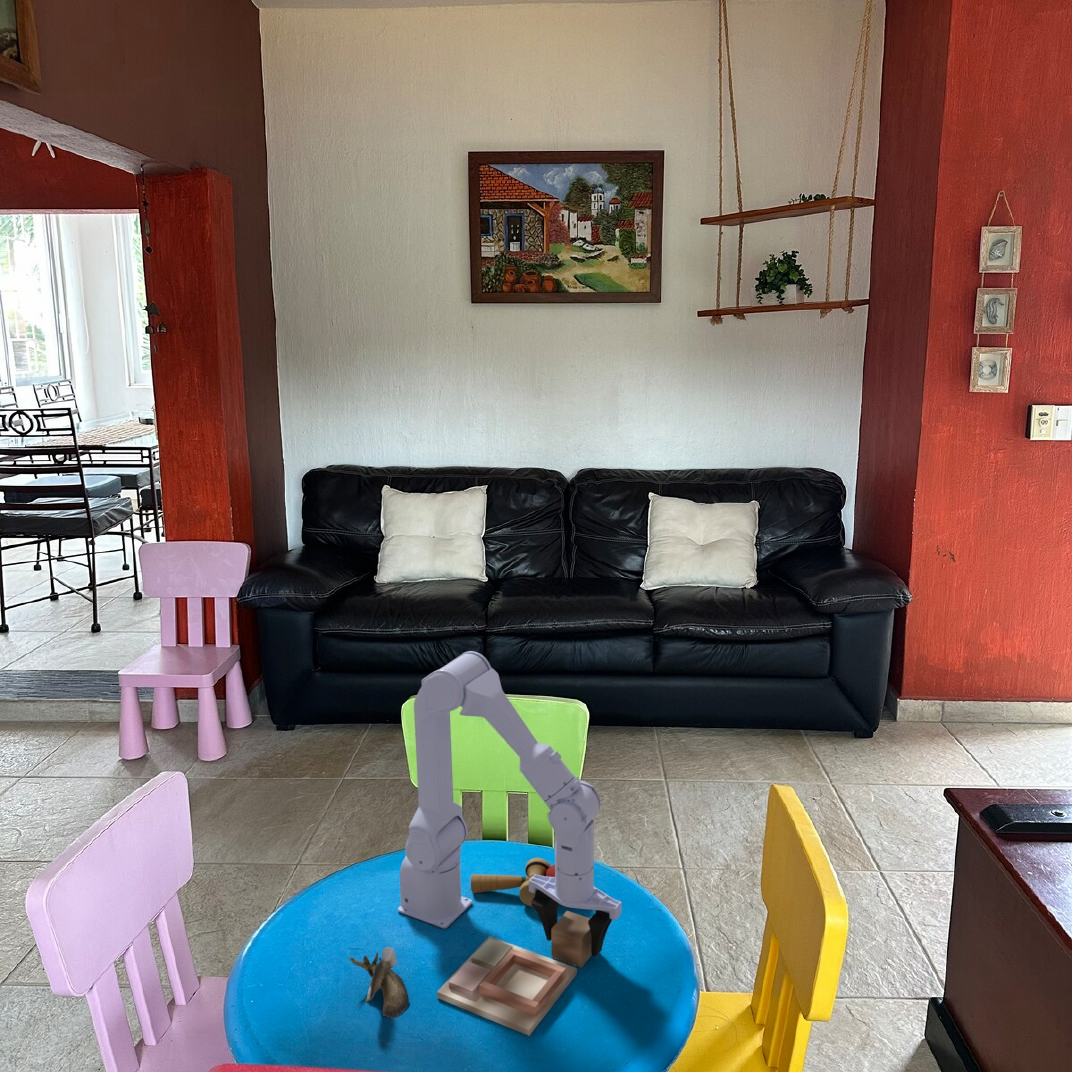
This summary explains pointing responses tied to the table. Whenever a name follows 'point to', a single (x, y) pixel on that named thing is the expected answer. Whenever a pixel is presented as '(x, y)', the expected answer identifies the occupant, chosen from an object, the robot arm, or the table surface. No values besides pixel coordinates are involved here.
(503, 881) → the kendama
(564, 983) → the puzzle board
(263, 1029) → the table surface
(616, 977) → the table surface
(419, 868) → the robot arm
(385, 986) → the eagle figurine
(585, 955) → the walnut block
